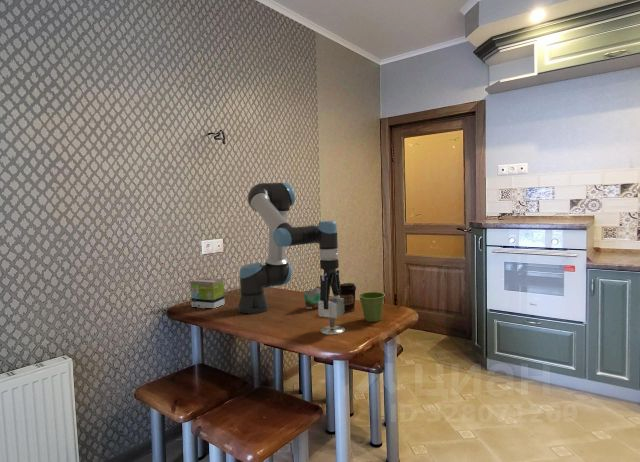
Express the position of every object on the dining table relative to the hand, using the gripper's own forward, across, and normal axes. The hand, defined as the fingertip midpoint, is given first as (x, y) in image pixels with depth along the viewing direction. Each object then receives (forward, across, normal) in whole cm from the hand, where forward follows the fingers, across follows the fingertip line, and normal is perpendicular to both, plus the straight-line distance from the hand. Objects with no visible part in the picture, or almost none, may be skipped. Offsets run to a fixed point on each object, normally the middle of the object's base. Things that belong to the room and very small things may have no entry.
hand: (331, 313), depth 159 cm
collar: (0, 0, 0) cm, 0 cm away
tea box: (+7, +16, +81) cm, 83 cm away
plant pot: (+7, +19, -11) cm, 23 cm away
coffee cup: (+7, +30, +5) cm, 31 cm away
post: (+7, 0, 0) cm, 7 cm away
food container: (+7, +29, +22) cm, 37 cm away
